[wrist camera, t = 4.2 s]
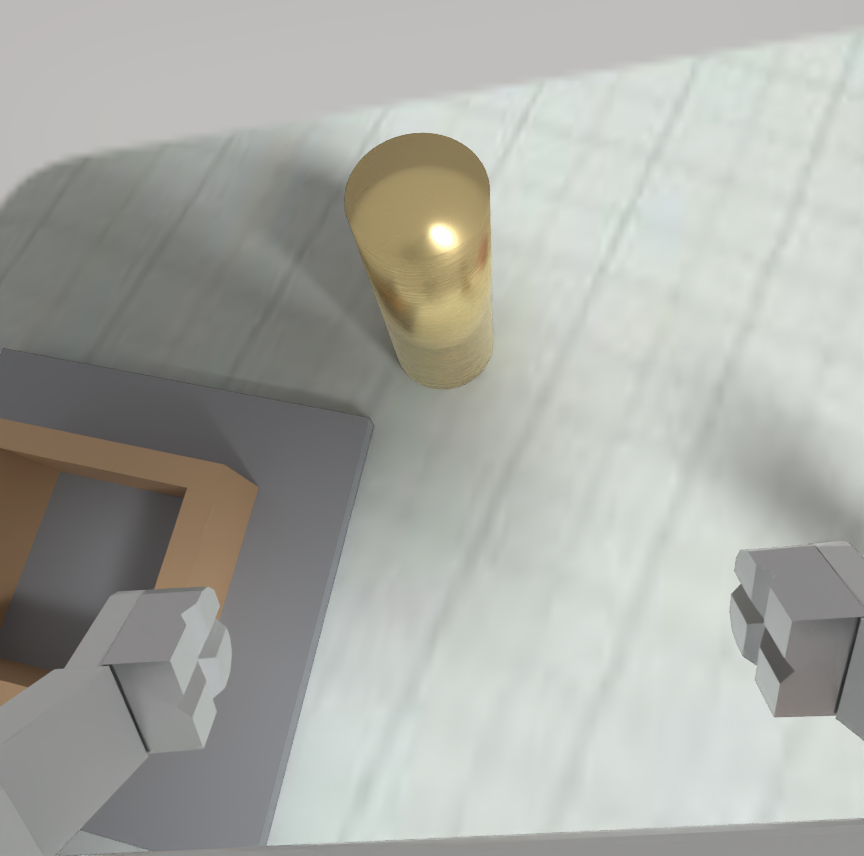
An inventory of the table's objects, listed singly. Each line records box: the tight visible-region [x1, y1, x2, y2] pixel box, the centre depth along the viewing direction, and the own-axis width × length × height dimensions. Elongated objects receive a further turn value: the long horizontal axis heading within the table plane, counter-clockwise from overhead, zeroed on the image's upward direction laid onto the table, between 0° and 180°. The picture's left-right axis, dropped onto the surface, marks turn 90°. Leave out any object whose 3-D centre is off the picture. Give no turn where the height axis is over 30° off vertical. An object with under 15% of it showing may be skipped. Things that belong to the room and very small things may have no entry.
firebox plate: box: [0, 348, 374, 851], centre depth 24 cm, size 16×16×4 cm
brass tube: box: [344, 133, 493, 389], centre depth 24 cm, size 4×4×10 cm
